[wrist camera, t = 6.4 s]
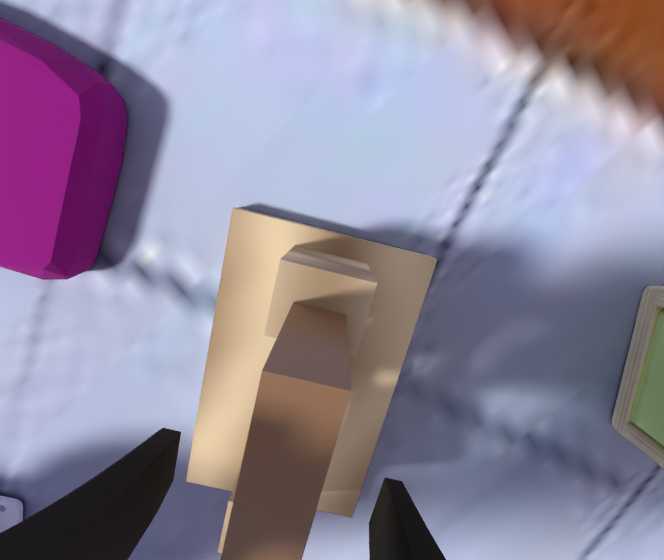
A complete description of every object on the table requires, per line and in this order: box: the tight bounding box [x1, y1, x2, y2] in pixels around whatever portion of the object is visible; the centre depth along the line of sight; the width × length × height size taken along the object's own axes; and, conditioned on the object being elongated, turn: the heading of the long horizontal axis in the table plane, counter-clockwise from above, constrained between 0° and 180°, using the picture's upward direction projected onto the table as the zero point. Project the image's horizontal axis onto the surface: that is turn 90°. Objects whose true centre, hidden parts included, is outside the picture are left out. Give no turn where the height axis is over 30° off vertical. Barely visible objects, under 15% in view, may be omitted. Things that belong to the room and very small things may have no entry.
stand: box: [186, 208, 437, 553], centre depth 16 cm, size 10×16×5 cm, turn 166°
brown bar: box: [221, 302, 351, 560], centre depth 11 cm, size 2×12×5 cm, turn 166°
